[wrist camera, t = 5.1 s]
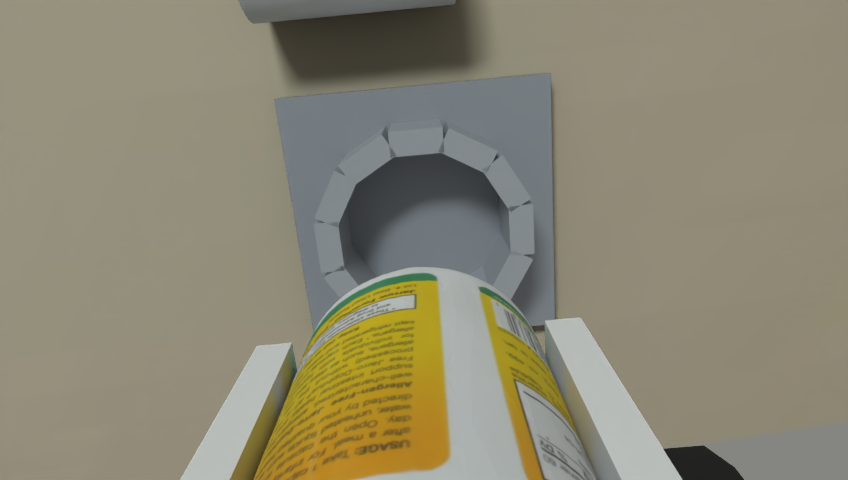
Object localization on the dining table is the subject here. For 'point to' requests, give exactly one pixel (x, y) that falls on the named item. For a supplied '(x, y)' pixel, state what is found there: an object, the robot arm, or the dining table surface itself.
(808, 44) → the dining table surface
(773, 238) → the dining table surface
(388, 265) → the coupling socket
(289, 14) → the pipe stub
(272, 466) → the supplement bottle
